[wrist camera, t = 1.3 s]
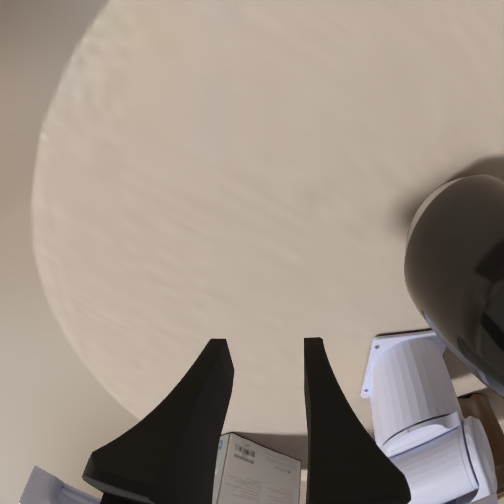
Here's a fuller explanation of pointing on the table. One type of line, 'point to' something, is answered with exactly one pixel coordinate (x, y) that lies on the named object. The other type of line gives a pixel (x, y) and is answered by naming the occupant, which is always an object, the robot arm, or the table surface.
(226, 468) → the hard drive box
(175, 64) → the table surface
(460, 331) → the dark grey egg shape
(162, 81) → the table surface
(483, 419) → the plant pot
